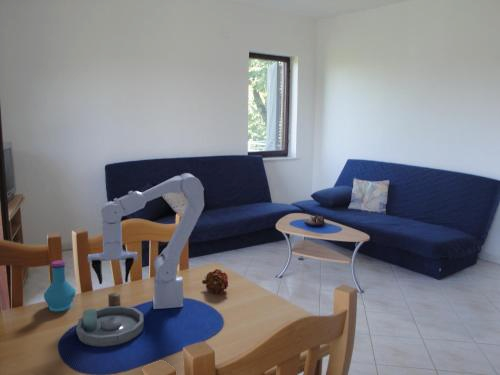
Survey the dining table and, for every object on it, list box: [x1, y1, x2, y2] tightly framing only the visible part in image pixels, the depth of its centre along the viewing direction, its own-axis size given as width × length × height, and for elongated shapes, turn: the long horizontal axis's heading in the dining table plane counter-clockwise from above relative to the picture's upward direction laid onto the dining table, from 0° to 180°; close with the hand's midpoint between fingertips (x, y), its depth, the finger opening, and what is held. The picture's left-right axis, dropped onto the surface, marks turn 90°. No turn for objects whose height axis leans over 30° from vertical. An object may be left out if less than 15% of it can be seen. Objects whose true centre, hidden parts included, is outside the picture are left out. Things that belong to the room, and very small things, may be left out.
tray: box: [75, 305, 144, 348], centre depth 117 cm, size 18×18×3 cm
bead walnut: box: [107, 292, 121, 307], centre depth 129 cm, size 4×4×5 cm
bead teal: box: [82, 308, 97, 331], centre depth 116 cm, size 4×4×5 cm
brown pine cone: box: [201, 268, 229, 294], centre depth 146 cm, size 8×8×12 cm
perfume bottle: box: [43, 259, 76, 312], centre depth 129 cm, size 9×9×15 cm
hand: (113, 281), depth 128 cm, fingers open, 7 cm apart
